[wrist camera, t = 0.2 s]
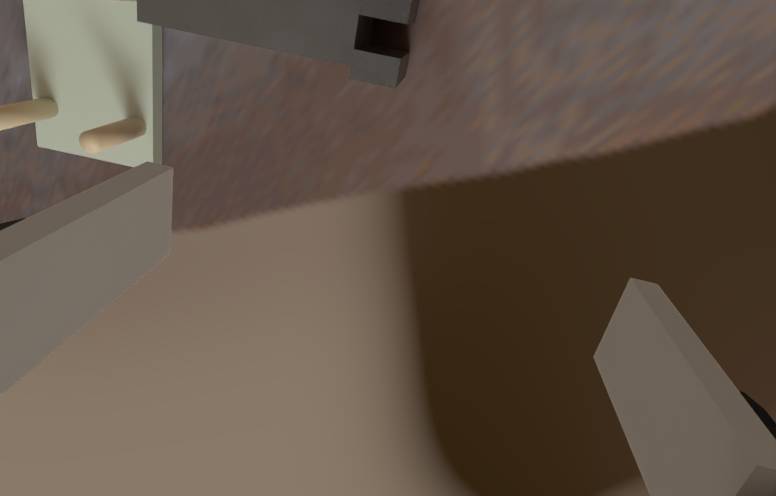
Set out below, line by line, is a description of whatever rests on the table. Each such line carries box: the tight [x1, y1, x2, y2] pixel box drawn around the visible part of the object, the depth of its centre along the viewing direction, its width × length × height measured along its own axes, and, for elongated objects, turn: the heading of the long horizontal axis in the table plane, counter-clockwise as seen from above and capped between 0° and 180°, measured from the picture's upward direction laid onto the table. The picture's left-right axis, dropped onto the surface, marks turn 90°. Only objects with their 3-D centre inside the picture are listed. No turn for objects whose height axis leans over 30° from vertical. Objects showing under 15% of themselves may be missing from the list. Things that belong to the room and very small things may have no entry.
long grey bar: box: [137, 0, 419, 88], centre depth 35 cm, size 17×6×7 cm, turn 79°
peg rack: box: [0, 0, 162, 167], centre depth 38 cm, size 17×10×8 cm, turn 170°
